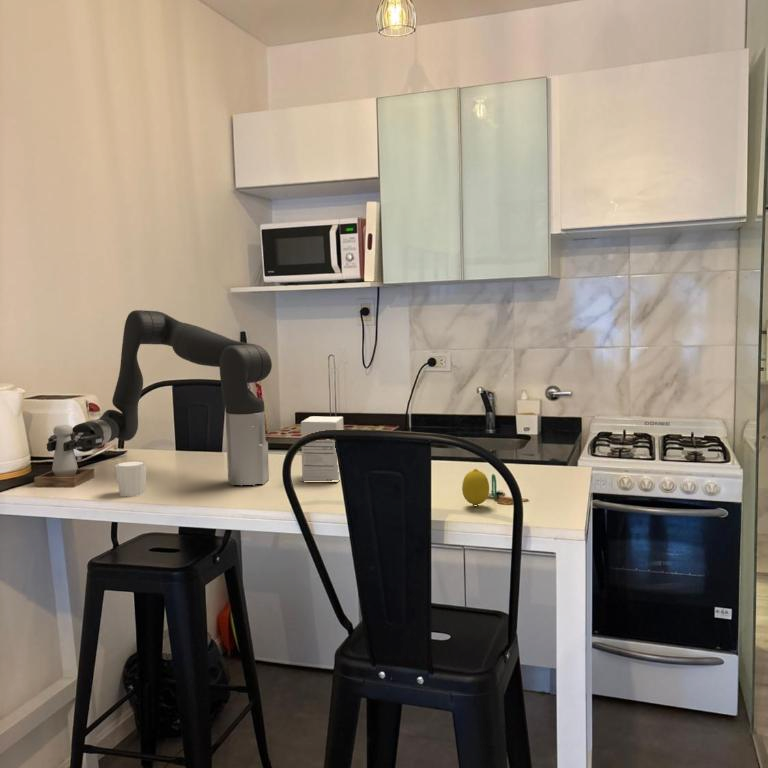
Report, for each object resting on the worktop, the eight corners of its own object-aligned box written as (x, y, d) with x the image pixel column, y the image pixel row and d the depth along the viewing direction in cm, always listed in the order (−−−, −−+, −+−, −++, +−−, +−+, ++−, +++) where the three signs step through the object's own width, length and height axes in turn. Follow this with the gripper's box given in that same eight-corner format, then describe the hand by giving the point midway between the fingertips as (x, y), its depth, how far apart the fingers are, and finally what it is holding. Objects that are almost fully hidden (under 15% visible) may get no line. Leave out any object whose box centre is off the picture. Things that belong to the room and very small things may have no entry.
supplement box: (310, 474, 184) (309, 415, 183) (345, 475, 183) (344, 416, 181) (301, 482, 175) (299, 421, 174) (337, 483, 174) (336, 421, 172)
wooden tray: (94, 477, 185) (93, 468, 185) (74, 486, 175) (74, 477, 175) (56, 477, 186) (56, 468, 186) (34, 486, 176) (34, 477, 176)
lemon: (487, 503, 154) (487, 466, 153) (490, 510, 148) (490, 471, 148) (461, 503, 154) (461, 466, 153) (463, 510, 149) (463, 472, 148)
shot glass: (138, 497, 164) (137, 466, 163) (110, 496, 165) (108, 466, 164) (153, 490, 170) (152, 460, 170) (126, 489, 172) (125, 460, 171)
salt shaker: (68, 480, 177) (65, 427, 176) (47, 479, 178) (44, 427, 177) (83, 475, 183) (80, 424, 182) (62, 475, 184) (59, 423, 183)
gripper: (64, 421, 194) (27, 432, 177) (115, 420, 193) (84, 431, 176) (66, 449, 195) (30, 462, 178) (117, 448, 194) (85, 462, 176)
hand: (57, 447), depth 177 cm, fingers open, 3 cm apart
